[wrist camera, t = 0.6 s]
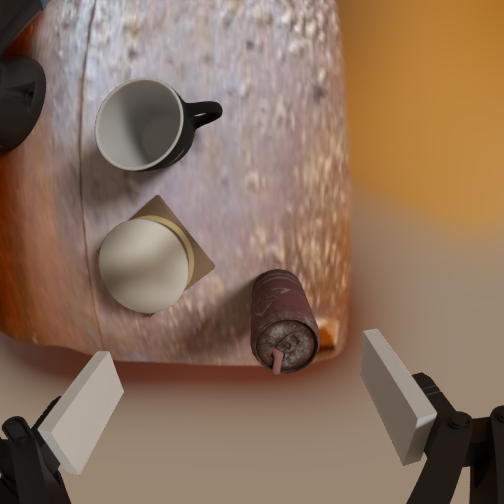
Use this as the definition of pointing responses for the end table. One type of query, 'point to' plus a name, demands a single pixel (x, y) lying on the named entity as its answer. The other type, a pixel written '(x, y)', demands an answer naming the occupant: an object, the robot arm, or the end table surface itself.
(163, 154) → the mug
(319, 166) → the end table surface
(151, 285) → the stand
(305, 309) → the can
